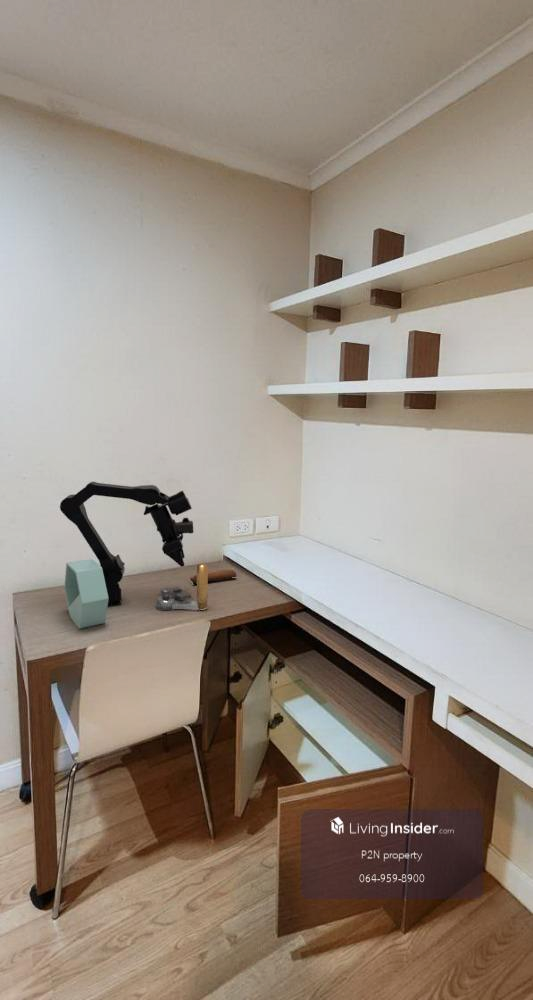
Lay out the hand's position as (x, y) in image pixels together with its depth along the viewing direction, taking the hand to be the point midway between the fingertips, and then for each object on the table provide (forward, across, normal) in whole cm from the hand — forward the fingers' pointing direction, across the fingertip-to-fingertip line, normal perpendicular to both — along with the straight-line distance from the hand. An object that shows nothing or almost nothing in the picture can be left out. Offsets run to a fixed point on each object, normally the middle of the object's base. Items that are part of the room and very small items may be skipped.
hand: (183, 562), depth 173 cm
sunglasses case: (+18, +21, -4) cm, 28 cm away
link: (+12, -7, +6) cm, 15 cm away
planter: (+1, -13, +33) cm, 35 cm away
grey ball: (+7, -6, +9) cm, 13 cm away
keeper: (+12, -2, +6) cm, 14 cm away
